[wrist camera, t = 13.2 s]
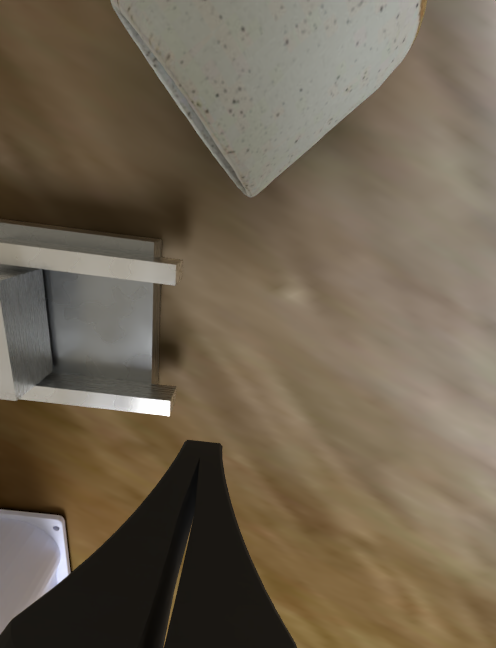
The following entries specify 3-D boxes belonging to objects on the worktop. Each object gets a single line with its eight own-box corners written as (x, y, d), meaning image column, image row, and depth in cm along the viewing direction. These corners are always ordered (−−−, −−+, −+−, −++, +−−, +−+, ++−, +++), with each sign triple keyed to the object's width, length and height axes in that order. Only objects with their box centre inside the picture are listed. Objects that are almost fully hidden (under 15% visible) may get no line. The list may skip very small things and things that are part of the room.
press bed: (180, 396, 21) (169, 426, 18) (-122, 362, 20) (-182, 387, 17) (189, 243, 17) (176, 249, 14) (-176, 195, 17) (-263, 193, 14)
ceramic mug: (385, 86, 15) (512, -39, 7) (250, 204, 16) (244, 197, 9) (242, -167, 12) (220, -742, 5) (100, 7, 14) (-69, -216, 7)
